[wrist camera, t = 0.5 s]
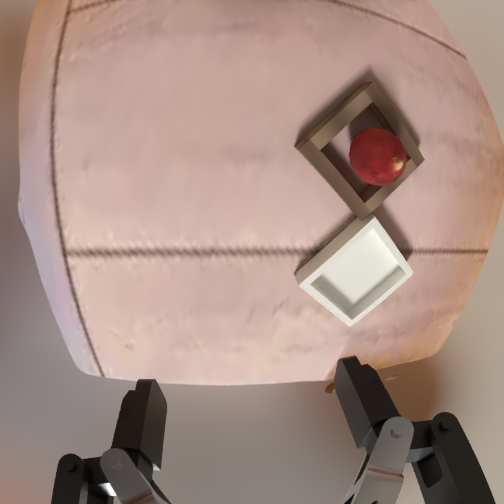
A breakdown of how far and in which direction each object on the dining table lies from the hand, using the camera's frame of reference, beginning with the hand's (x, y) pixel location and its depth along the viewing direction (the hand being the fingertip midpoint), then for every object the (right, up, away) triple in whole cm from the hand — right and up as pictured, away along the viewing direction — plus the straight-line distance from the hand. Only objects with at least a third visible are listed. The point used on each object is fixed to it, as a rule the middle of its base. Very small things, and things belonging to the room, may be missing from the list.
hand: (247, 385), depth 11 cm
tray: (+14, +4, +24) cm, 28 cm away
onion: (+12, +17, +17) cm, 27 cm away
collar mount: (+12, +17, +16) cm, 27 cm away
